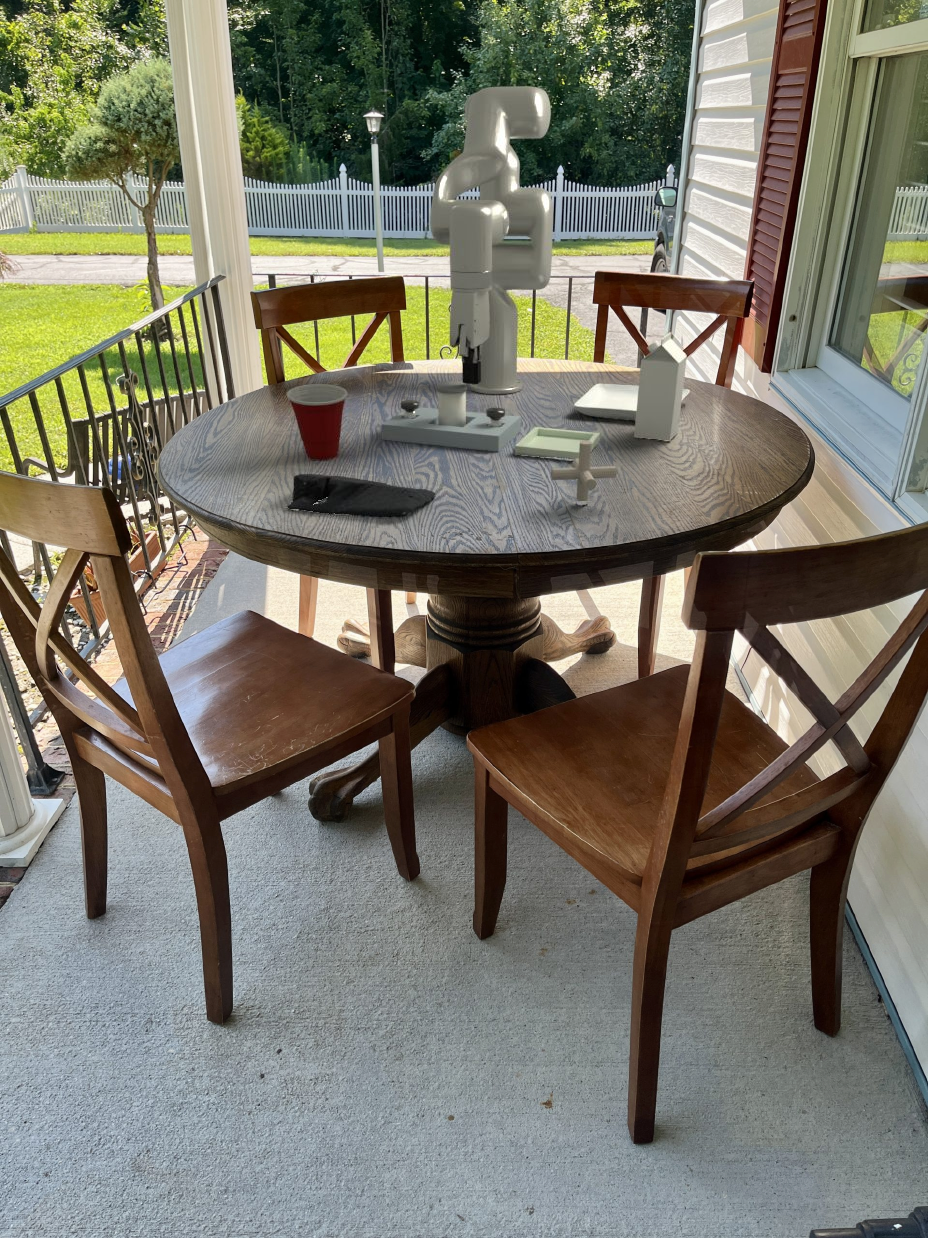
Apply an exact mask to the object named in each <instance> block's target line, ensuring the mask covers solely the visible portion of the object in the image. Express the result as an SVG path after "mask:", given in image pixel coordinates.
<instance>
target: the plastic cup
mask: <svg viewBox="0 0 928 1238" xmlns="http://www.w3.org/2000/svg"><path fill="white" fill-rule="evenodd" d="M348 394H349V393H348V391H347V390H346V389H345V388H343V387H341V386H337V385H333V384H326V383H325V384H323V383H314V384H312V383H311V384H304V385H299V386H296V387H293V388H290V389H289V390H288V391H287V392H286V397H287V399H288V401H289V402H290V404H291V408H292V410H293V413H294V416H295V419H296V423H297V427H298V431H299V434H300V438H301V441H302V444H303V448H304V451H305V455H306V457H307V458H308V459H309V458H310V459H309V460H313V459H314V461H329V460H331V459H335V458H337V457H338V456H339V452H340V438H341V432H342V422H343V411H344V406H345V401H346V398H347V396H348Z"/></svg>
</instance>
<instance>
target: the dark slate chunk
mask: <svg viewBox="0 0 928 1238" xmlns="http://www.w3.org/2000/svg"><path fill="white" fill-rule="evenodd" d="M435 494H436V492H435V491H433V490H428V489H425V488H413V487H406V486H397V485H391V484H388V483H386V482H380V481H373V480H366V479H361V478H355V477H347V476H342V475H341V476H340V475H328V474H327V475H324V474H320V473H319V474H317V473H316V474H315V473H299V474H296V475H294V476H293V490H292V500H291V502H290V503H291V504H288V505H287V506H286V507H288V508H289V509H299V511H301V510H306V511H305V512H308V511H313V512H319V513H329V514H328V515H334V513H335V514H341V515H346V514H349V515H350V516H354V517H357V516H359V517H364V518H365V517H371V518H373V517H374V518H381V519H382V517H389V518H390V519H391V517H392V518H402V517H406V516H408V515H409V514H411V513H412V512H415V511H417V510H418V509H419V508H421V507H423V506H426V505H428V504H429V503H431V502H433V500H435V499H436V495H435ZM326 497H328V498H326ZM324 498H326V501H324V502H320V501H318V500H322V499H324ZM324 500H325V499H324ZM292 501H293V502H292ZM322 501H323V500H322ZM316 502H319V503H318V504H314V503H316ZM313 504H314V505H313ZM288 508H287V509H288ZM289 509H288V510H289ZM319 513H318V514H319ZM389 518H388V519H389Z"/></svg>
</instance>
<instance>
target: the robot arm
mask: <svg viewBox="0 0 928 1238" xmlns="http://www.w3.org/2000/svg"><path fill="white" fill-rule="evenodd" d="M551 111H552V109H551V103H550V98H549V95H548V94H547V91H545V90H544V89H542V88H540V87H536V86H529V85H525V86H490V87H485V88H482V89H479V90H478V91H476V92H474V93H471V94H470V95H469V96H468V97H467V98H466V101H465V105H464V116H465V122H466V129H465V138H464V145H463V152H462V153H460V154H459V155H457V157H455V158H454V159H453V160H452V161H451V162H450V163H449V164H448V165H447V166H446V167H445V168H444V170H443V171H442V172H441V174H439V176H438V178H437V180H436V182H435V185H434V189H433V195H432V201H431V207H430V213H429V214H430V217H429V223H430V224H429V226H430V227H429V228H430V232H431V236H432V238H433V239H434V240H435V242H437V243H438V244H441V245H445V246H448V245H449V268H450V269H449V270H450V271H449V273H450V274H449V275H450V277H449V279H450V280H449V282H450V283H449V285H450V286H449V287H450V291H452V294H451V298H450V311H449V312H450V313H449V315H450V316H449V345H450V347H451V348H457V347H458V346H459V347H458V356H459V357H461V362H462V364H461V365H462V371H461V373H462V382H463V383H466V384H467V385H469V389H470V390H471V391H473V392H475V393H479V394H486V395H505V394H506V395H507V394H513V393H517V392H519V391H521V390H523V388H524V383H523V381H521V380H519V379H517V375H518V374H517V371H518V366H517V363H518V362H517V361H518V329H519V327H518V326H519V325H518V324H519V323H518V322H519V320H518V319H519V312H518V311H519V310H518V307H517V305H516V303H515V301H514V300H513V298H512V297H511V296H510V294H509V293H508V291H512V290H513V291H516V290H517V291H519V290H520V291H531V290H532V291H534V290H535V291H536V290H537V291H538V290H543V289H544V288H546V287H548V285H549V283H550V280H551V273H552V261H553V260H552V258H553V257H552V256H553V254H552V253H553V235H554V233H553V231H554V230H553V229H554V227H553V226H554V205H553V199H552V195H551V194H550V192H549V191H548V190H547V189H545V188H541V187H521V185H520V169H521V166H520V165H521V163H520V160H519V157H518V155H517V153H516V152H515V150H514V148H513V147H512V145H511V144H510V143H511V139H513V140H514V139H542V138H543V137H545V135H546V134H547V132H548V130H549V127H550V122H551V116H552V113H551ZM478 187H479V199H457V198H458V197H460V196H461V195H462V194H464V193H466V192H469V191H471V190H473V189H476V188H478ZM505 237H528V238H529V239H530V240H531V243H529V242H528V243H525V242H524V243H523V242H522V243H518V242H515V243H514V242H503V240H504V239H505Z"/></svg>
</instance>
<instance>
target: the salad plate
mask: <svg viewBox="0 0 928 1238" xmlns="http://www.w3.org/2000/svg"><path fill="white" fill-rule="evenodd" d="M638 389H639V385H629V384H614V383H597V384H594V385H593V386H592V387H591V388H590V389H589V390H588V391H587V392H586V393H584V395H583V396H581V397H580V398H579V399H578V400H577V401H575V403H574V404H573V407H574V409H575V410H576V411H577V412H579V413H581V414H584V416H589V417H593V416H594V417H593V418H599V417H606V418H605V419H609V418H617V419H616V420H619V419H628V420H627V421H629V420H636V411H637V400H638ZM689 394H690V389H684V388H683V393H682V402H683V401H684V400H685V399H686V398H687V396H688V395H689Z"/></svg>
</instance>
